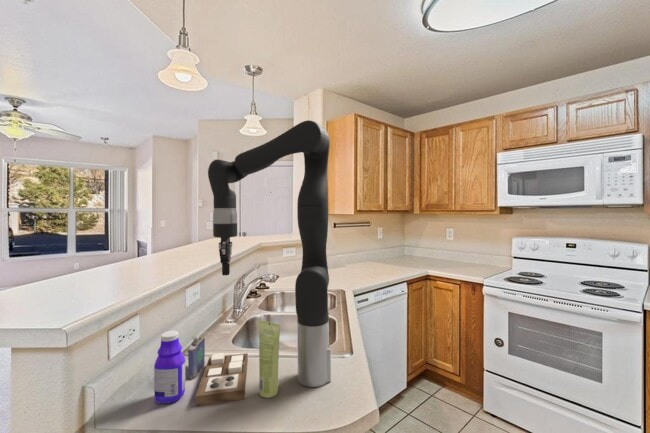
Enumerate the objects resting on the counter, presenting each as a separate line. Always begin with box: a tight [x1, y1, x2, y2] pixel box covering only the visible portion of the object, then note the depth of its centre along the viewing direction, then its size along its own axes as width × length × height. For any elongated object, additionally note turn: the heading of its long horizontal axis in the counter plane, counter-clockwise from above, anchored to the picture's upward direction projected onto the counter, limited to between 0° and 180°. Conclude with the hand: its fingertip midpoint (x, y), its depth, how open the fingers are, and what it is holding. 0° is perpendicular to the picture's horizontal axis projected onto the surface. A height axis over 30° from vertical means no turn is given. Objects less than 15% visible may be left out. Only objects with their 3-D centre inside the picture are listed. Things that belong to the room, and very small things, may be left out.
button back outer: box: [211, 352, 226, 365], centre depth 91 cm, size 4×4×2 cm
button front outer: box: [207, 367, 222, 377], centre depth 85 cm, size 4×4×2 cm
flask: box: [187, 336, 206, 380], centre depth 90 cm, size 9×3×11 cm, turn 4°
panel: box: [195, 352, 249, 407], centre depth 85 cm, size 12×20×3 cm, turn 13°
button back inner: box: [231, 354, 243, 362], centre depth 92 cm, size 4×4×2 cm
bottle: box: [153, 330, 186, 404], centre depth 77 cm, size 7×6×17 cm
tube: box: [257, 319, 281, 399], centre depth 79 cm, size 6×5×20 cm
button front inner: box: [228, 361, 242, 374], centre depth 86 cm, size 4×4×2 cm
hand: (226, 274), depth 95 cm, fingers closed
